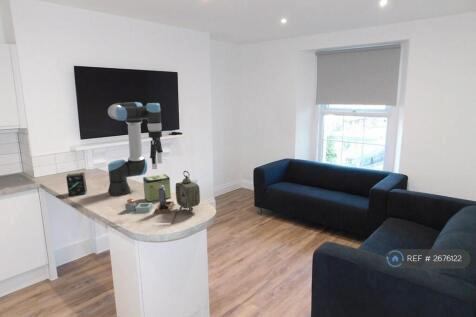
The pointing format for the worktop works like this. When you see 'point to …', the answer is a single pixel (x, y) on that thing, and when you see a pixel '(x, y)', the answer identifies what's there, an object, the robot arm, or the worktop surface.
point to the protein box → (156, 187)
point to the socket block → (139, 208)
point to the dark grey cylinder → (162, 197)
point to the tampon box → (76, 184)
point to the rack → (169, 208)
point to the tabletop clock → (187, 193)
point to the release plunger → (130, 201)
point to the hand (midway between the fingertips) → (157, 166)
